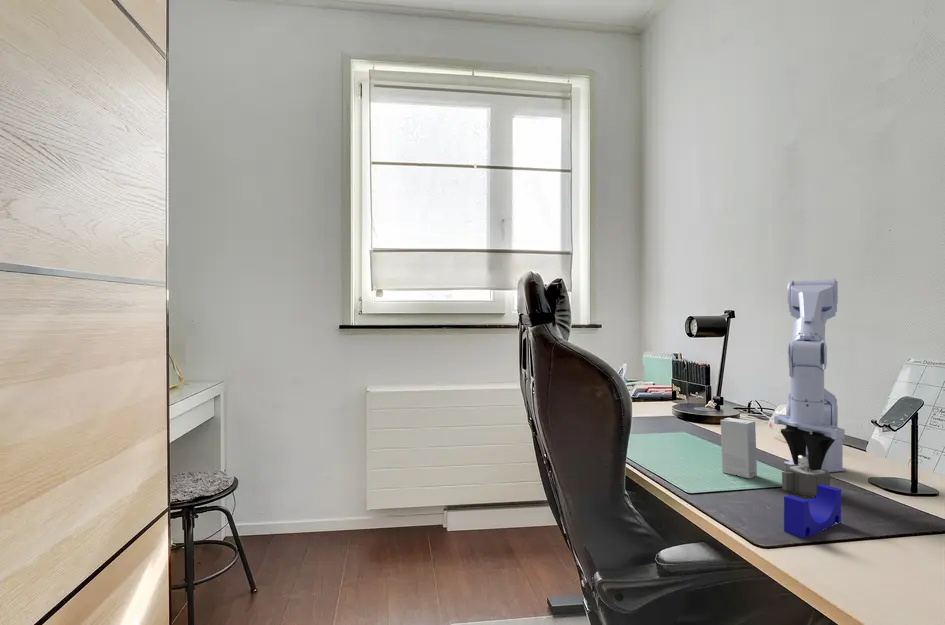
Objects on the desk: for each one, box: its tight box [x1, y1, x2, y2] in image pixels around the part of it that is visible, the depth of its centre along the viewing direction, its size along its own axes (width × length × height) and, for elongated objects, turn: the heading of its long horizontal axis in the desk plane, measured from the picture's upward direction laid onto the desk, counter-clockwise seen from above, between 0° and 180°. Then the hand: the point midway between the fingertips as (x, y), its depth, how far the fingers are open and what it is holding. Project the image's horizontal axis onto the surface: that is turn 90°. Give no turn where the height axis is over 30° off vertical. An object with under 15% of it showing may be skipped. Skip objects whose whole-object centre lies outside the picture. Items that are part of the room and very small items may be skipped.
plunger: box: [798, 454, 810, 471], centre depth 102 cm, size 3×3×6 cm
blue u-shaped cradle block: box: [783, 484, 842, 539], centre depth 85 cm, size 12×4×6 cm, turn 120°
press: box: [781, 464, 831, 497], centre depth 102 cm, size 9×7×4 cm
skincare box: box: [720, 417, 758, 479], centre depth 112 cm, size 6×4×12 cm
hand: (807, 466), depth 102 cm, fingers closed on plunger, 3 cm apart
